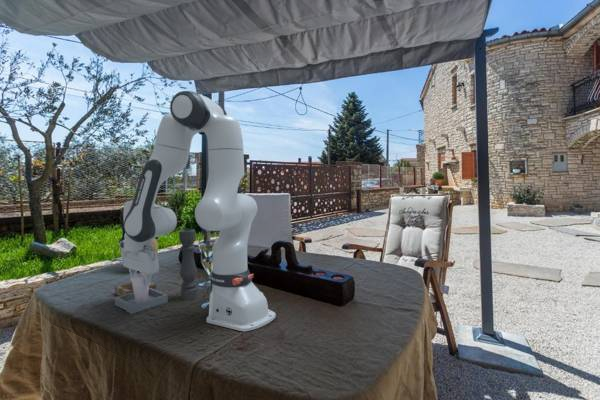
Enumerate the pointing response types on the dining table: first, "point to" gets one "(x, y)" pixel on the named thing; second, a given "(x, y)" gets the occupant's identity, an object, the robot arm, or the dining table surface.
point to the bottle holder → (128, 288)
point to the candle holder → (188, 265)
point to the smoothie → (140, 287)
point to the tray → (132, 307)
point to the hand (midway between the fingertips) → (140, 282)
